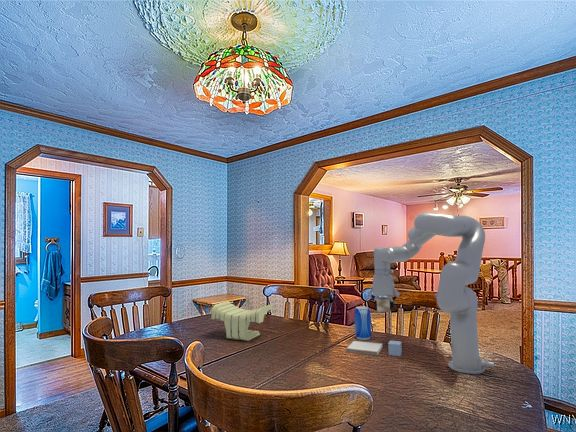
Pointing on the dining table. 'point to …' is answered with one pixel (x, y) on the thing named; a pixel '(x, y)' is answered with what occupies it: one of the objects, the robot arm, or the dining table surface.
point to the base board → (364, 348)
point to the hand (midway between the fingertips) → (384, 308)
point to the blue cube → (395, 348)
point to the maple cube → (383, 304)
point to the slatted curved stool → (239, 319)
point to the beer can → (362, 323)
